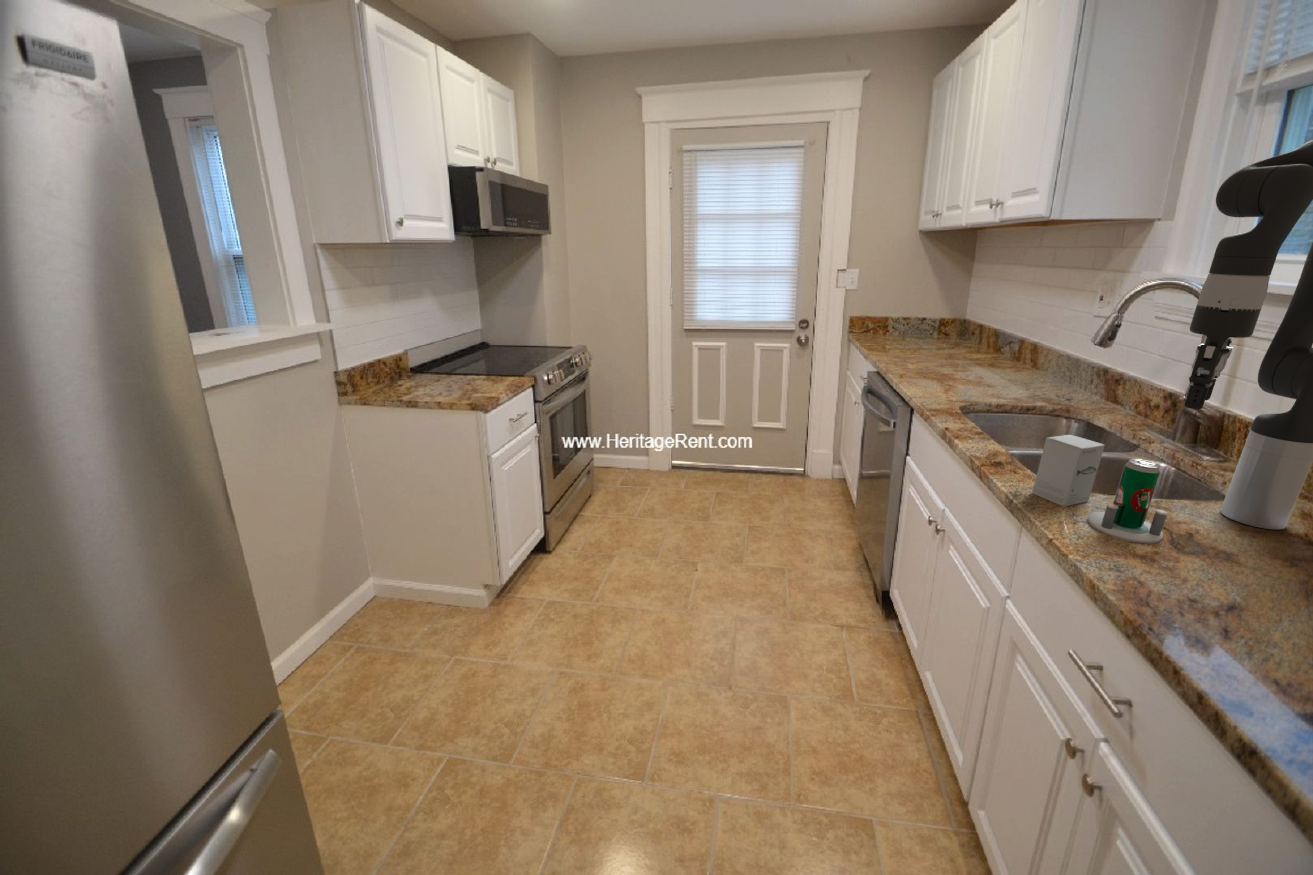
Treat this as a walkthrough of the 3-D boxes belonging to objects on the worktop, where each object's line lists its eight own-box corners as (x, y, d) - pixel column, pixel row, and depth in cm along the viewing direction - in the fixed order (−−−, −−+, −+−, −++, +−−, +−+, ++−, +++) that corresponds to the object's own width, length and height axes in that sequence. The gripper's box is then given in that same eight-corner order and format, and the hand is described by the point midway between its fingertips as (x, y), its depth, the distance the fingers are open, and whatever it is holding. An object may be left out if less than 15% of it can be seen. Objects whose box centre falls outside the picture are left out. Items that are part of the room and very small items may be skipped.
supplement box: (1065, 507, 117) (1081, 448, 113) (1030, 493, 124) (1044, 436, 119) (1089, 502, 120) (1106, 444, 116) (1054, 488, 126) (1069, 433, 122)
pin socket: (1095, 510, 116) (1102, 486, 114) (1166, 530, 109) (1175, 505, 107) (1081, 527, 109) (1088, 502, 107) (1156, 549, 101) (1165, 523, 100)
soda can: (1109, 515, 112) (1126, 456, 108) (1142, 523, 109) (1162, 462, 105) (1107, 524, 108) (1125, 463, 104) (1142, 532, 105) (1162, 470, 101)
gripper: (1203, 299, 100) (1175, 392, 105) (1190, 305, 91) (1160, 406, 96) (1265, 303, 95) (1232, 401, 100) (1258, 310, 85) (1221, 416, 91)
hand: (1196, 403), depth 98 cm, fingers open, 8 cm apart
